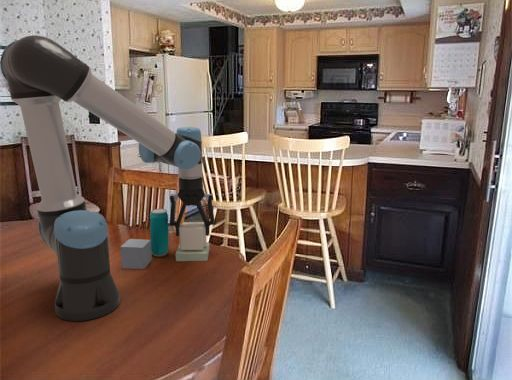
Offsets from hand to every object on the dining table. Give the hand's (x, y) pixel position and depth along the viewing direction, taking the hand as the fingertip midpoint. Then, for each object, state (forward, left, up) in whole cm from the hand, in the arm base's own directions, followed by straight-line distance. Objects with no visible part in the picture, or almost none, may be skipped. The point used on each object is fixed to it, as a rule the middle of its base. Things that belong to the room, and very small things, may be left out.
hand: (193, 244), depth 138 cm
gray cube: (-7, +17, -4) cm, 19 cm away
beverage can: (+1, +11, -4) cm, 12 cm away
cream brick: (0, 0, 0) cm, 0 cm away
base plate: (0, 0, -4) cm, 4 cm away
